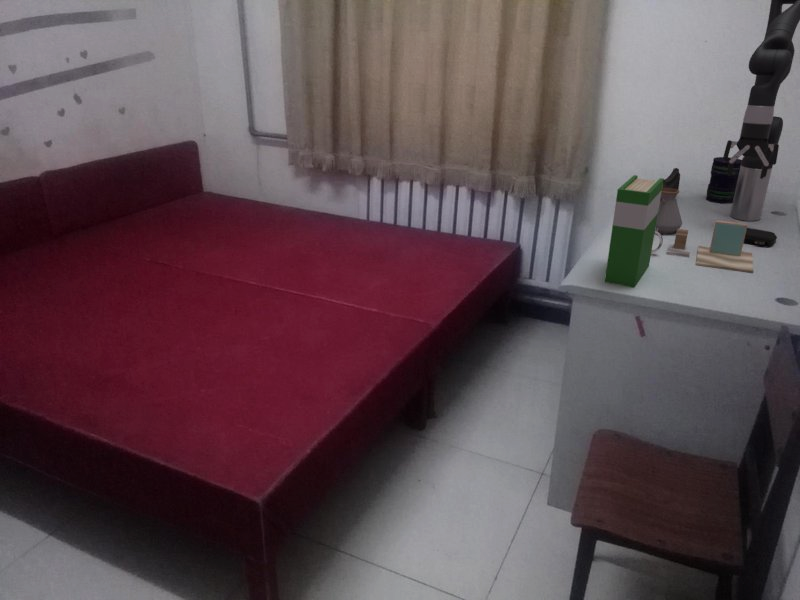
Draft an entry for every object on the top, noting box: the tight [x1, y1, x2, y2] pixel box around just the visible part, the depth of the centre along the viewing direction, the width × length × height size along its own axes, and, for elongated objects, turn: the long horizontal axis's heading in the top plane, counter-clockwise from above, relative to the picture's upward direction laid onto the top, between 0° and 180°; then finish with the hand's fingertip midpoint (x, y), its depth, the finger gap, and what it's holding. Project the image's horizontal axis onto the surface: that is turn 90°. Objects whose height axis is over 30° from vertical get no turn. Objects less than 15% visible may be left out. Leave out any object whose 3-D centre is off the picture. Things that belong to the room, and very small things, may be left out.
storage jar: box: [705, 156, 742, 205], centre depth 238 cm, size 10×10×15 cm
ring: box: [651, 227, 664, 254], centre depth 185 cm, size 7×3×8 cm, turn 61°
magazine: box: [662, 167, 681, 191], centre depth 234 cm, size 18×3×31 cm
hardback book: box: [604, 174, 665, 289], centre depth 167 cm, size 18×7×24 cm, turn 150°
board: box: [695, 245, 755, 274], centre depth 182 cm, size 16×14×1 cm
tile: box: [709, 220, 748, 256], centre depth 183 cm, size 2×8×9 cm, turn 65°
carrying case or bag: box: [743, 227, 778, 248], centre depth 198 cm, size 11×3×15 cm
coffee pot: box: [656, 188, 683, 235], centre depth 200 cm, size 21×12×15 cm, turn 144°
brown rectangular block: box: [666, 228, 691, 258], centre depth 188 cm, size 10×6×5 cm, turn 155°
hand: (745, 177), depth 198 cm, fingers open, 8 cm apart
